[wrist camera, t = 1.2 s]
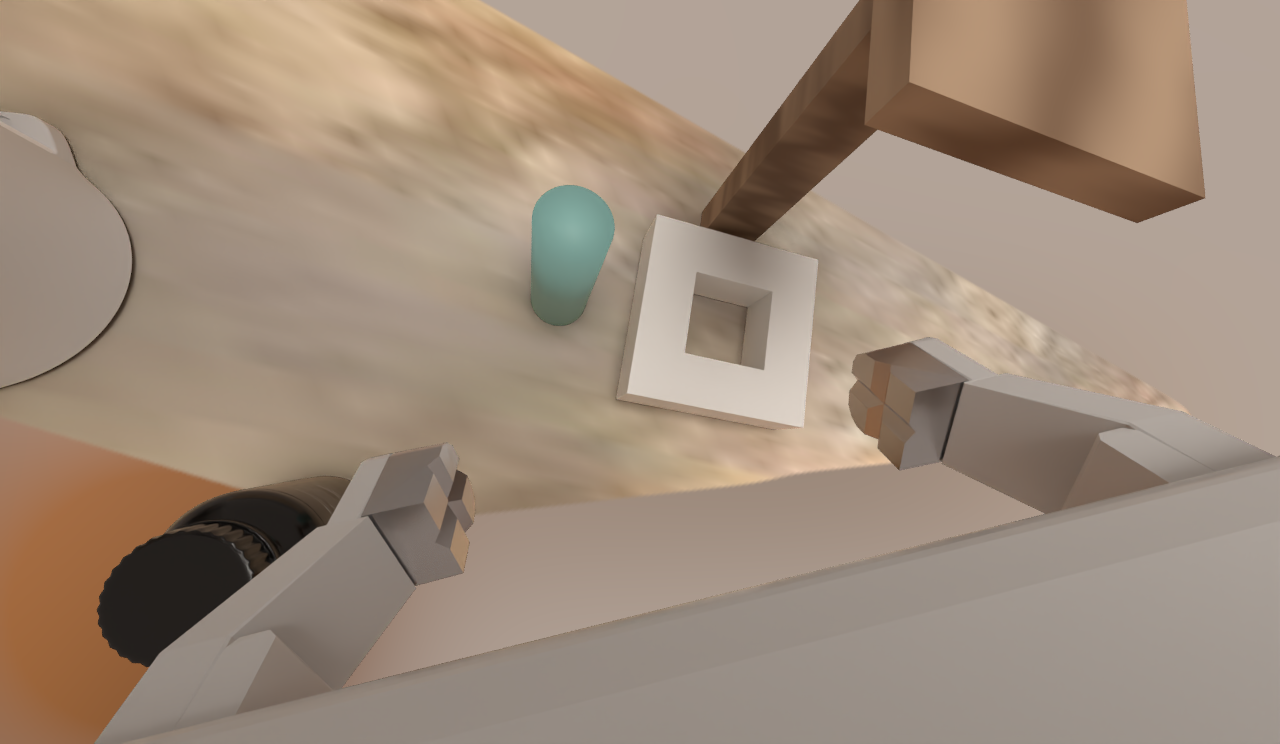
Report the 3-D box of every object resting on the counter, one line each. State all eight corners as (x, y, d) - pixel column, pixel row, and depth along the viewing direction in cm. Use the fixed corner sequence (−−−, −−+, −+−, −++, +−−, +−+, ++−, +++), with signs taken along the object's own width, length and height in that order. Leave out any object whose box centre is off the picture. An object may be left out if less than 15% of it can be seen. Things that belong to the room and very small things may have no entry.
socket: (615, 399, 33) (626, 393, 30) (643, 238, 36) (657, 213, 32) (774, 429, 36) (803, 427, 32) (789, 278, 39) (818, 259, 35)
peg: (525, 319, 33) (524, 250, 21) (536, 267, 34) (541, 175, 22) (580, 331, 34) (606, 271, 22) (589, 280, 34) (620, 197, 23)
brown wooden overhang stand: (646, 332, 35) (909, 82, 11) (668, 201, 37) (925, -249, 13) (764, 359, 37) (1205, 198, 13) (778, 233, 39) (1176, -105, 15)
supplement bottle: (239, 507, 27) (24, 554, 15) (359, 456, 29) (247, 464, 17) (284, 614, 27) (98, 743, 15) (402, 556, 29) (317, 630, 17)
